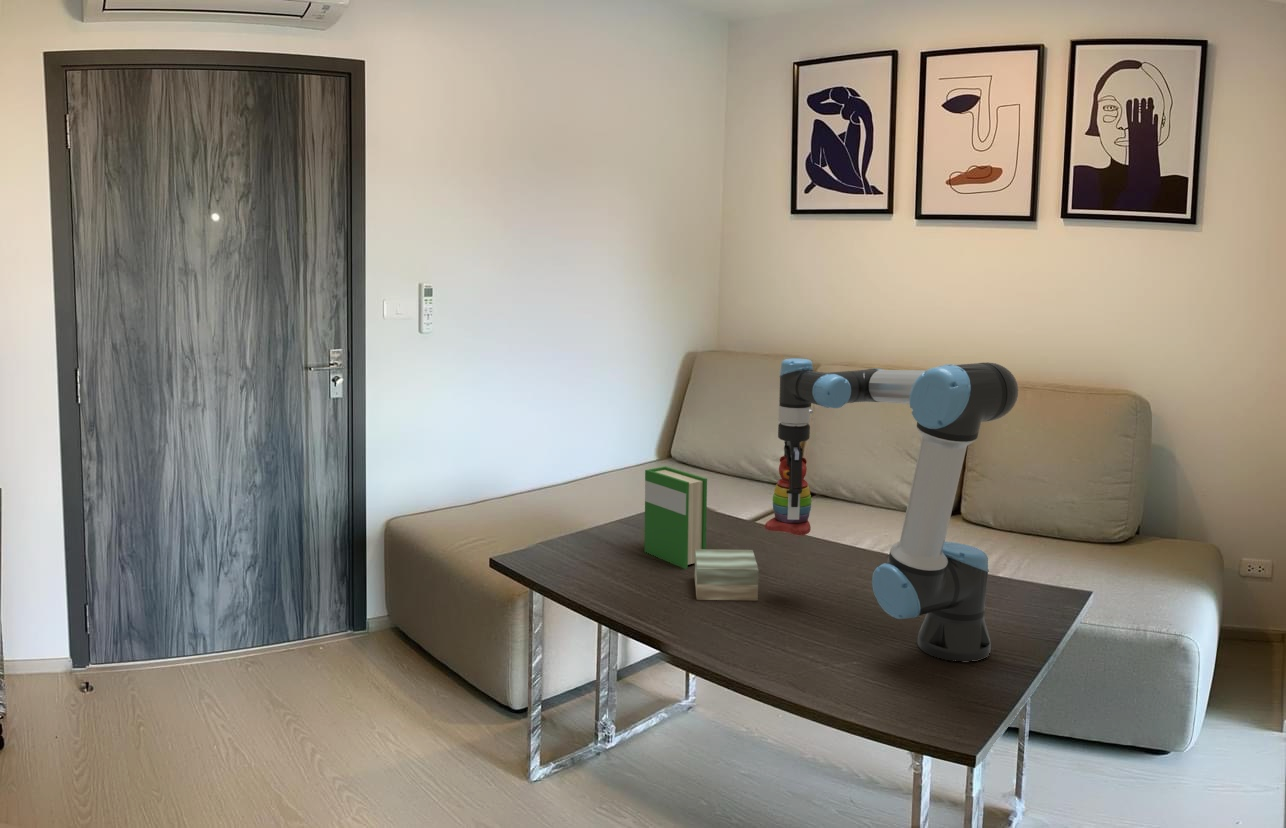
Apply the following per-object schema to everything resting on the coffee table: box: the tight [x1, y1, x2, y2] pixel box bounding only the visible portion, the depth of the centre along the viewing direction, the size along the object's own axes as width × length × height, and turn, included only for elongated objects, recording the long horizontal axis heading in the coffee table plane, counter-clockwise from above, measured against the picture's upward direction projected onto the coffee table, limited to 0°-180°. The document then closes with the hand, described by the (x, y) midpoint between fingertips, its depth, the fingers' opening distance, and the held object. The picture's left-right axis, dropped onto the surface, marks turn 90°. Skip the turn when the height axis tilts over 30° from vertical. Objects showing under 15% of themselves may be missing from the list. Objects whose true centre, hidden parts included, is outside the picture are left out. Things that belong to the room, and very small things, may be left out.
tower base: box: [694, 548, 760, 601], centre depth 240 cm, size 15×15×8 cm
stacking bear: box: [764, 455, 812, 536], centre depth 230 cm, size 11×10×18 cm
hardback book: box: [644, 466, 708, 570], centre depth 262 cm, size 18×7×24 cm, turn 38°
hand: (790, 513), depth 231 cm, fingers closed on stacking bear, 9 cm apart
